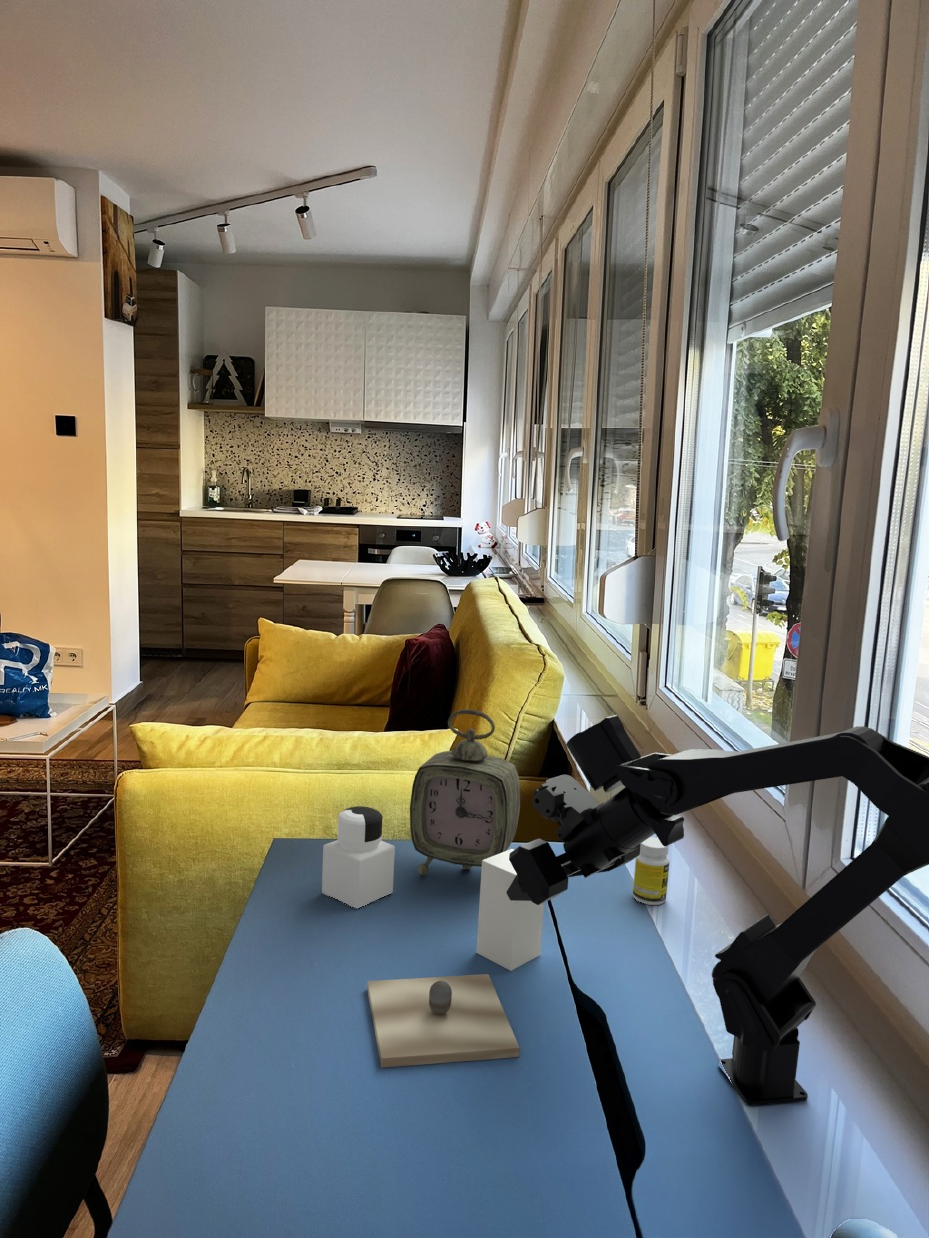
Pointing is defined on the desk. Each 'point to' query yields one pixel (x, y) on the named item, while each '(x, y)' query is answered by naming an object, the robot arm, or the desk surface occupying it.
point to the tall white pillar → (506, 917)
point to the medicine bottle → (358, 859)
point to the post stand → (439, 1020)
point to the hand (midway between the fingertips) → (534, 884)
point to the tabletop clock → (464, 803)
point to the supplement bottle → (651, 872)
